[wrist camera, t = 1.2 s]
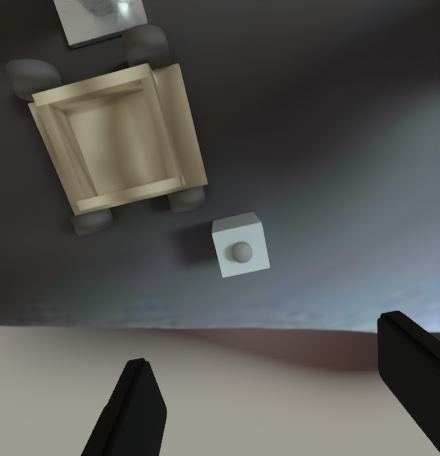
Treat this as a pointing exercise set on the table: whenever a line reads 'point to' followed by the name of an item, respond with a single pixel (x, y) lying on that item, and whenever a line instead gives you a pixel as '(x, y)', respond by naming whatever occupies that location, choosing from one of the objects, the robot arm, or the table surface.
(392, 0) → the table surface
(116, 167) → the birch chassis
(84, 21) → the grey square pedestal base
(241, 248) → the block
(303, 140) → the table surface
